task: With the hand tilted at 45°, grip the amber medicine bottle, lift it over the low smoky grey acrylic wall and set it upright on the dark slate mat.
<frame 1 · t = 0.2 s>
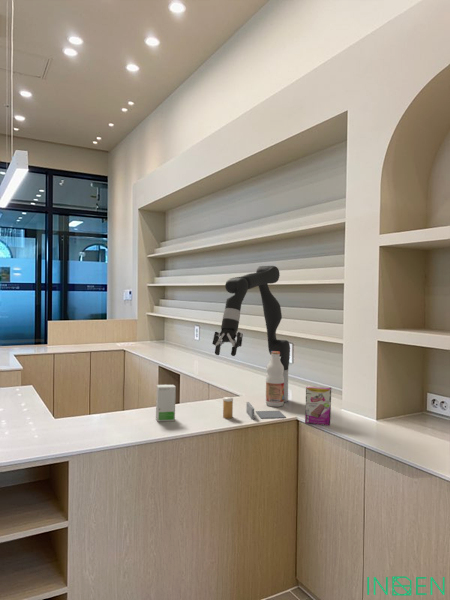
hand: (224, 355, 196), 31 cm above the worktop, tool tilted 20°, fingers open, 8 cm apart
amber medicine bottle: (227, 417, 209), on the worktop
skincare box: (165, 420, 204), on the worktop
candy bar box: (318, 423, 200), on the worktop
smoky grey acrylic wall: (250, 415, 212), on the worktop
fruit juice: (274, 405, 234), on the worktop
dark slate mat: (270, 414, 214), on the worktop
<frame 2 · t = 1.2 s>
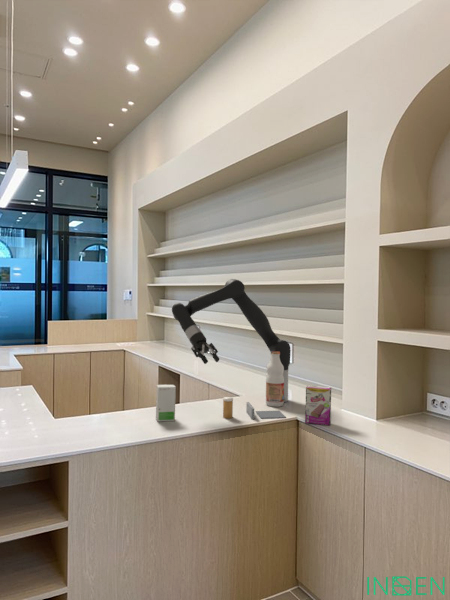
hand: (212, 361, 215), 25 cm above the worktop, tool tilted 45°, fingers open, 8 cm apart
nothing on the worktop moved.
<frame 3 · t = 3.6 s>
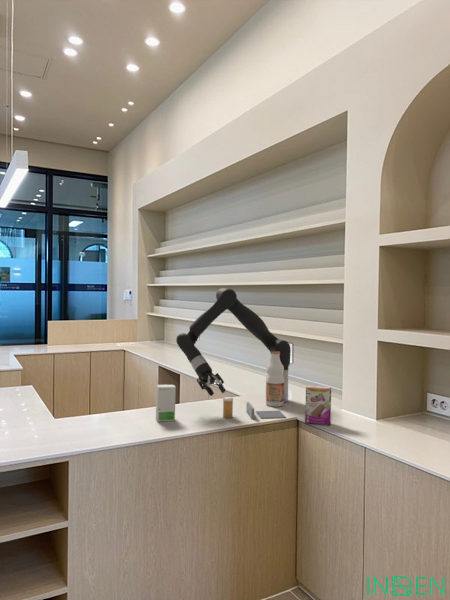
hand: (218, 393, 213), 10 cm above the worktop, tool tilted 45°, fingers open, 8 cm apart
nothing on the worktop moved.
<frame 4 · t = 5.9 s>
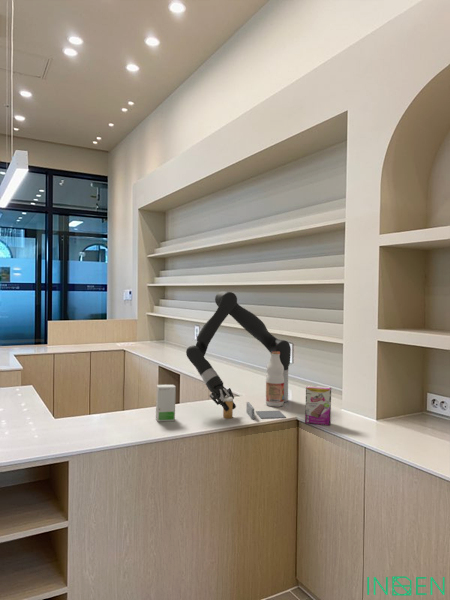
hand: (231, 409, 208), 4 cm above the worktop, tool tilted 45°, fingers closed on amber medicine bottle, 4 cm apart
amber medicine bottle: (227, 417, 209), on the worktop, touching gripper
everything else where it was.
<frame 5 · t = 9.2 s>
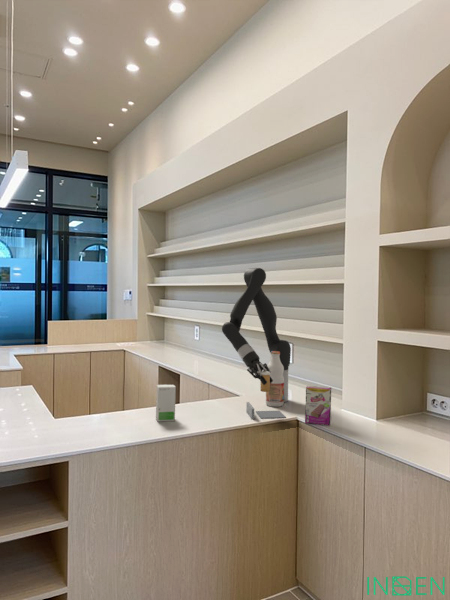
hand: (268, 382, 212), 16 cm above the worktop, tool tilted 45°, fingers closed on amber medicine bottle, 4 cm apart
amber medicine bottle: (265, 390, 213), point 12 cm above the worktop, touching gripper
everything else where it was.
when the fingers open (6 cm above the worktop, at t = 12.5 s): amber medicine bottle stays where it is, resting on dark slate mat.
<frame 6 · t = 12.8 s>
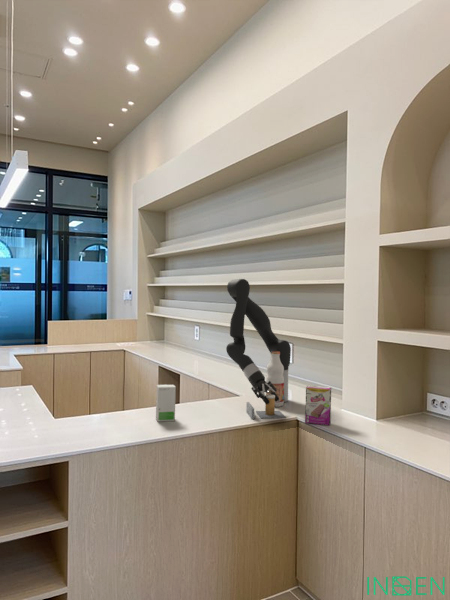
hand: (273, 401, 213), 6 cm above the worktop, tool tilted 45°, fingers open, 8 cm apart
amber medicine bottle: (269, 414, 214), resting on dark slate mat
everything else where it was.
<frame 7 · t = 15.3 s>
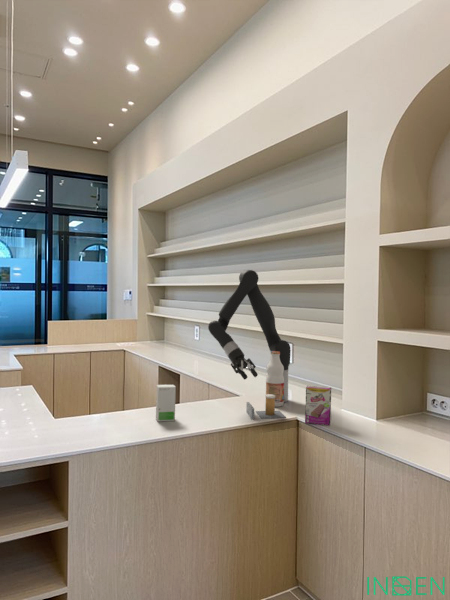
hand: (251, 377, 221), 17 cm above the worktop, tool tilted 45°, fingers open, 8 cm apart
nothing on the worktop moved.
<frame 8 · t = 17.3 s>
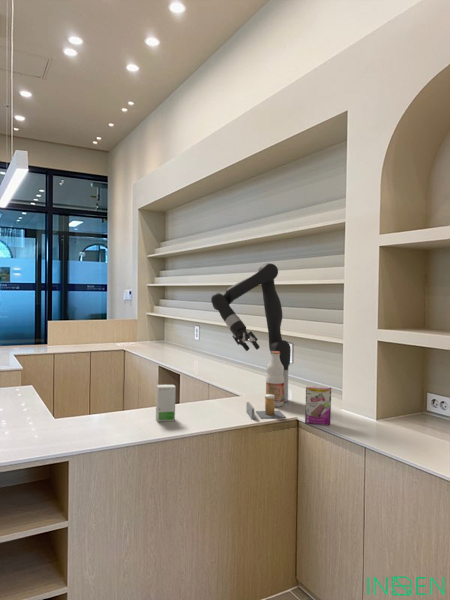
hand: (253, 349, 220), 31 cm above the worktop, tool tilted 45°, fingers open, 8 cm apart
nothing on the worktop moved.
at the end: amber medicine bottle inside the target area on the dark slate mat (0.3 cm from its centre), point 0.5 cm above the dark slate mat's base; amber medicine bottle tilted 2°; the gripper is holding nothing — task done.
